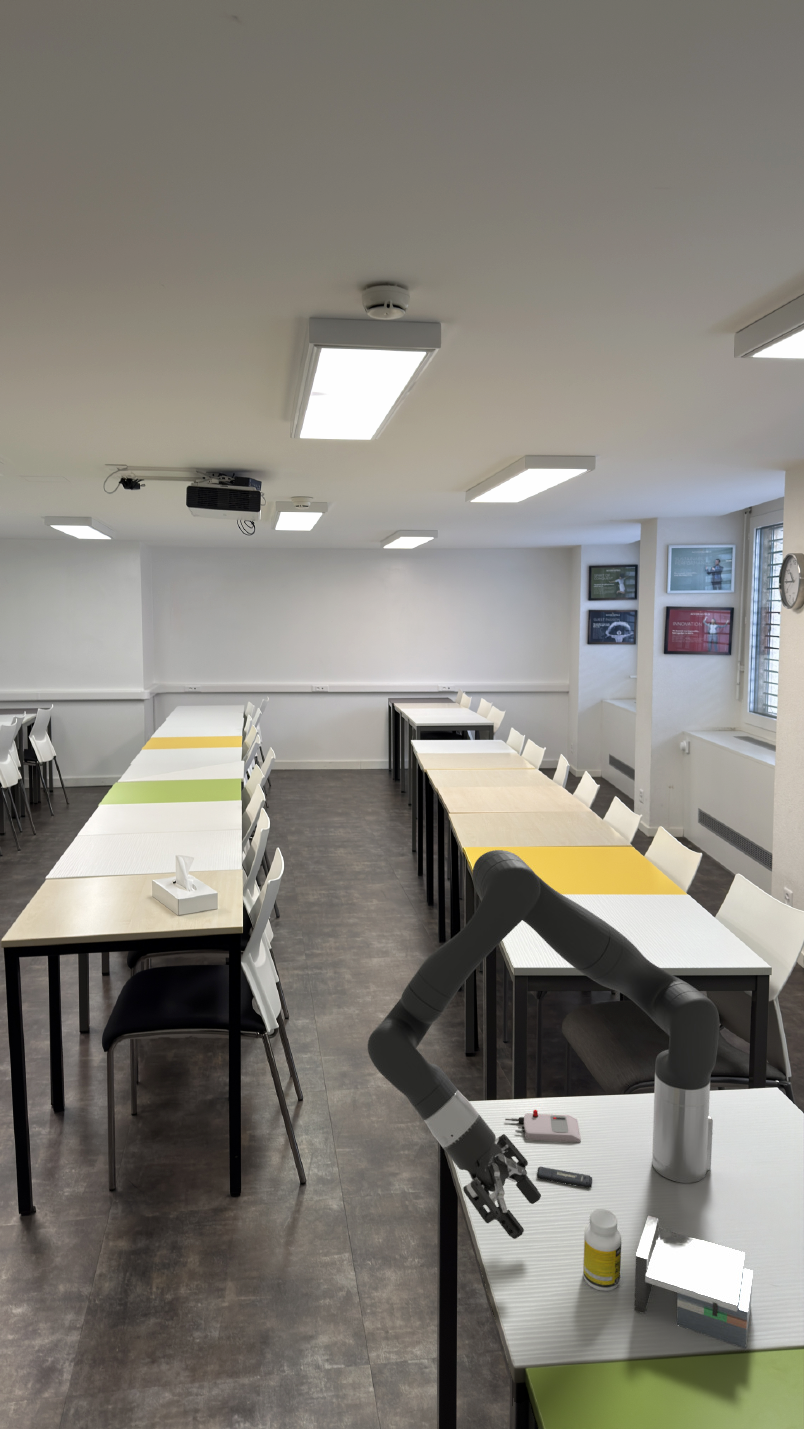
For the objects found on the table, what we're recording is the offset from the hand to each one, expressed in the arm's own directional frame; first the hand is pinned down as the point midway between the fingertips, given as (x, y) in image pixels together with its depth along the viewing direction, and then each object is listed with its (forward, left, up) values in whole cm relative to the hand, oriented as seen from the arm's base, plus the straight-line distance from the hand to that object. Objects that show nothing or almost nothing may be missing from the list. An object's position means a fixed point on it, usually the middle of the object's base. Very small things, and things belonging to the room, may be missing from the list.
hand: (528, 1217), depth 136 cm
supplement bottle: (-7, +9, -6) cm, 13 cm away
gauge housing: (-17, +21, -6) cm, 28 cm away
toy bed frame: (-15, +18, -6) cm, 24 cm away
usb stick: (-15, -12, -7) cm, 21 cm away
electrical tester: (-21, -26, -7) cm, 34 cm away
